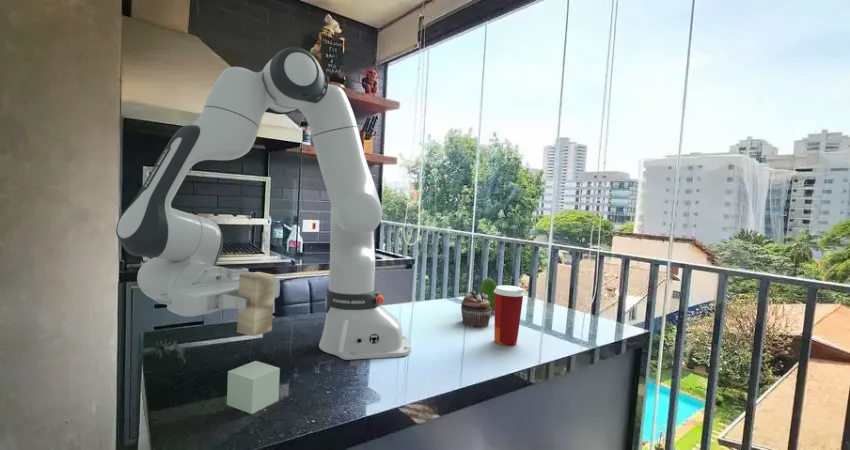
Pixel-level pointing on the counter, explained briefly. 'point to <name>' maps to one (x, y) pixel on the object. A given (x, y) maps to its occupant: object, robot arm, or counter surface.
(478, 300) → the cupcake
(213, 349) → the counter surface
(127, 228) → the robot arm
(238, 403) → the sage block
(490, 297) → the avocado
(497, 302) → the coffee cup
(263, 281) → the maple pillar
